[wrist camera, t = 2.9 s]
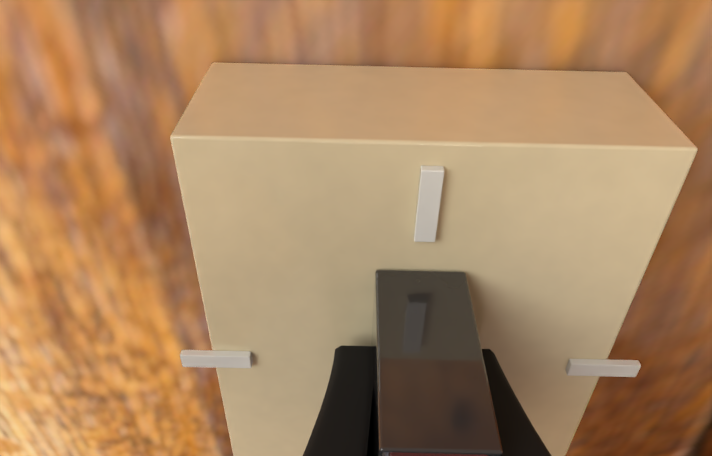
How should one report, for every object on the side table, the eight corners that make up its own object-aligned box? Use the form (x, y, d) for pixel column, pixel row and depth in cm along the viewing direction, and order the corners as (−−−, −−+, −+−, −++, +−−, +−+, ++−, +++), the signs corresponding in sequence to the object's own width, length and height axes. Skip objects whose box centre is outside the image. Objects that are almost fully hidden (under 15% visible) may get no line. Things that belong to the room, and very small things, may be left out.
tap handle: (435, 434, 13) (457, 623, 10) (366, 432, 13) (366, 621, 10) (466, 270, 10) (508, 471, 7) (374, 268, 10) (379, 467, 7)
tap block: (545, 394, 17) (576, 498, 15) (235, 387, 17) (213, 490, 15) (659, 71, 11) (745, 155, 8) (179, 60, 11) (124, 140, 8)
